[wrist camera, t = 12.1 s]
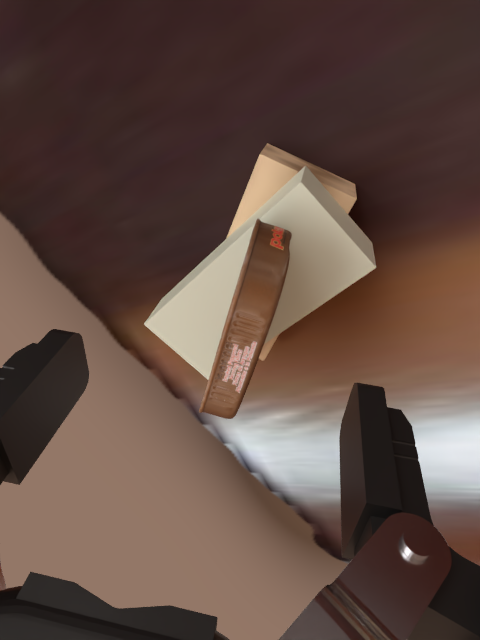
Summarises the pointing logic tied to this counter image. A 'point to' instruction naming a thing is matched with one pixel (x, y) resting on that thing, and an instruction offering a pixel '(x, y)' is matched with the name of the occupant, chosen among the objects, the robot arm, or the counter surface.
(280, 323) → the tower top
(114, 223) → the counter surface
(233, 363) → the tin
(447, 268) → the counter surface
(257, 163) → the tower bottom
